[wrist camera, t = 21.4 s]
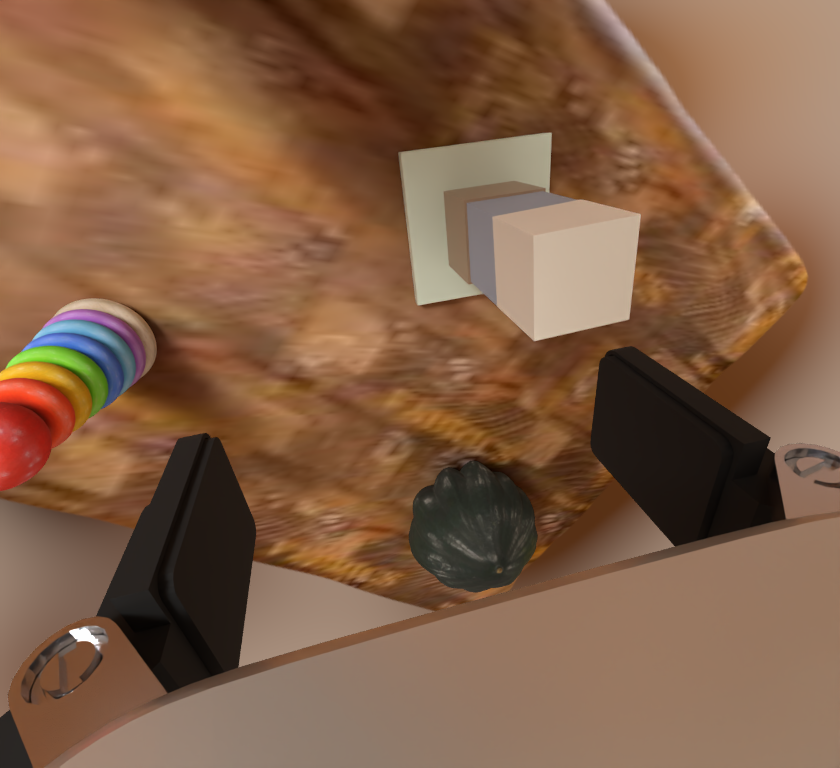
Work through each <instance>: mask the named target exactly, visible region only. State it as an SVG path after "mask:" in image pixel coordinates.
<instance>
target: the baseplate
mask: <svg viewBox="0 0 840 768" xmlns="http://www.w3.org/2000/svg"><path fill="white" fill-rule="evenodd" d="M551 138H552V133H539V134H532V135H524V136H517V137H509V138H502V139H494V140H486V141H479V142H471V143H464V144H456V145H449V146H441V147H434V148H426V149H418V150H411V151H403V152H398V155H399V164H400V173H401V181H402V190H403V198H404V207H405V216H406V224H407V233H408V241H409V250H410V259H411V267H412V276H413V284H414V293H415V301H416V303H417V305H423V304H429V303H435V302H440V301H446V300H451V299H457V298H463V297H468V296H474V295H479V294H483V293H482V292H481V291H480V290H479V289H478V288H477V287H476V286H475V285H474V284H473V283H472V282H471V275H470V256H469V237H468V218H467V203H470V202H476V201H483V200H489V199H496V198H502V197H508V196H515V195H521V194H528V193H534V192H540V191H544V192H548V193H549V188H550V163H551Z"/></svg>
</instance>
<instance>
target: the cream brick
mask: <svg viewBox="0 0 840 768" xmlns="http://www.w3.org/2000/svg"><path fill="white" fill-rule="evenodd" d="M640 218H641V214H638V213H634V212H630V211H626V210H622V209H618V208H614V207H610V206H606V205H602V204H598V203H594V202H590V201H586V200H582V199H581V200H575V201H570V202H565V203H560V204H555V205H550V206H544V207H539V208H534V209H529V210H524V211H519V212H513V213H508V214H503V215H498V216H493V217H492V220H493V239H494V258H495V277H496V296H497V307H498V308H499V309H500V310H501V311H502V312H503V313H504V314H506V315H507V316H508V317H509V318H510V319H511V320H512V321H513V322H514V323H515V324H516V325H517V326H518V327H519V328H521V329H522V330H523V331H524V332H525V333H526V334H527V335H528V336H529V337H530V338H531V339H532V340H533V341H538V340H542V339H546V338H551V337H555V336H559V335H564V334H568V333H573V332H577V331H581V330H586V329H590V328H594V327H599V326H603V325H607V324H612V323H616V322H621V321H625V320H629V316H630V307H631V298H632V289H633V281H634V272H635V263H636V254H637V245H638V236H639V227H640Z"/></svg>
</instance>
